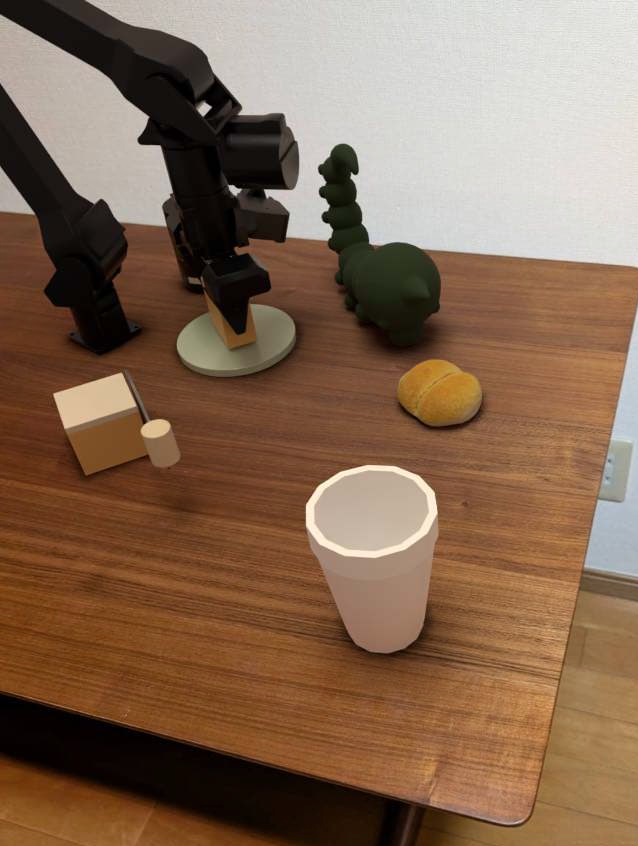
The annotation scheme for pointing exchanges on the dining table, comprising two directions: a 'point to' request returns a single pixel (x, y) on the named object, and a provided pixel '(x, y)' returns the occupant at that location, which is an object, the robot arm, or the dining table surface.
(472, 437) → the dining table surface
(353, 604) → the foam cup
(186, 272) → the supplement container
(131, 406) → the cake
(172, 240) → the robot arm
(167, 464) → the knife
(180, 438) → the dining table surface
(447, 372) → the bread roll
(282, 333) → the plate
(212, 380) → the dining table surface
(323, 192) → the toy figurine
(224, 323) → the cake slice
